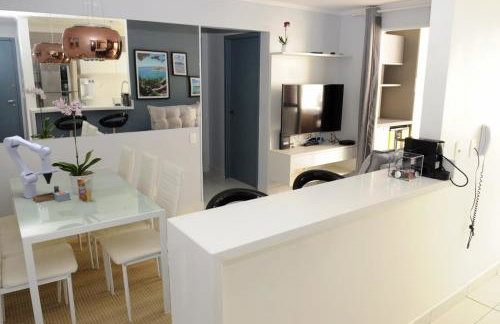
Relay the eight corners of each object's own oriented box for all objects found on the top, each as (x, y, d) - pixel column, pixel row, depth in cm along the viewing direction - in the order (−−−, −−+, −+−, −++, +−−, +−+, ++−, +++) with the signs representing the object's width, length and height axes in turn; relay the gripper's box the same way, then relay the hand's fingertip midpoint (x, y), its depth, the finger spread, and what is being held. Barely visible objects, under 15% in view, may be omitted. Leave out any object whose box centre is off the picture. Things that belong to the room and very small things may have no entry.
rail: (33, 200, 269) (32, 196, 268) (61, 194, 282) (61, 190, 282) (36, 203, 264) (36, 198, 263) (65, 197, 277) (65, 193, 276)
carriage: (51, 195, 276) (50, 186, 274) (60, 193, 280) (59, 184, 279) (53, 196, 272) (53, 188, 271) (62, 195, 276) (62, 186, 275)
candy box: (78, 200, 271) (76, 178, 268) (83, 198, 275) (81, 177, 271) (87, 202, 267) (85, 180, 263) (92, 200, 270) (90, 179, 267)
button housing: (54, 200, 270) (54, 193, 269) (66, 197, 276) (66, 190, 275) (58, 202, 266) (57, 195, 265) (70, 199, 272) (69, 192, 271)
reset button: (59, 197, 270) (58, 191, 270) (63, 196, 273) (63, 190, 272) (60, 198, 268) (60, 192, 268) (65, 197, 271) (64, 191, 270)
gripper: (36, 167, 261) (39, 186, 264) (59, 163, 272) (61, 182, 275) (33, 165, 266) (35, 184, 269) (55, 162, 276) (57, 180, 279)
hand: (48, 183), depth 272 cm, fingers closed
